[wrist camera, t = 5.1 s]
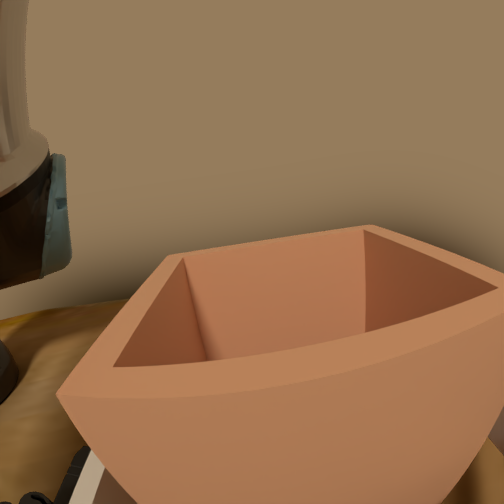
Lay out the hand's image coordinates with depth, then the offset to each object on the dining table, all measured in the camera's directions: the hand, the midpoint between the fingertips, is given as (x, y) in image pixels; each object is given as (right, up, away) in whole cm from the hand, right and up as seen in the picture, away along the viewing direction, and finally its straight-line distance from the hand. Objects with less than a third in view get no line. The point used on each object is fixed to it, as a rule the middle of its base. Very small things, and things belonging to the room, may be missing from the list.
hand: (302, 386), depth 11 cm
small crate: (+1, -8, 0) cm, 8 cm away
